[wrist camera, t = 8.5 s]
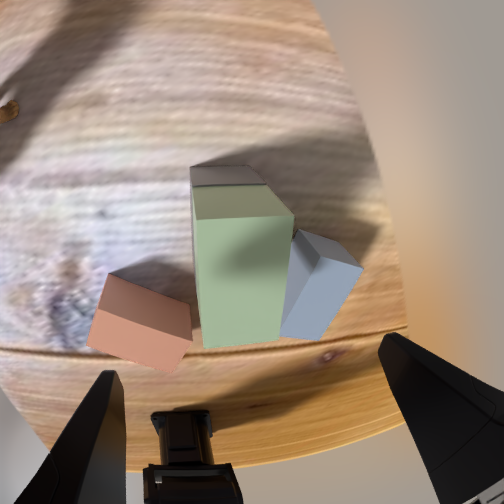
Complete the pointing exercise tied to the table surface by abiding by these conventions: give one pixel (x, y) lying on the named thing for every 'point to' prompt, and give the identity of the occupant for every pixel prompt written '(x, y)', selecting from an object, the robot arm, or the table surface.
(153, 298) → the terracotta brick
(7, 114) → the lion figurine
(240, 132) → the table surface
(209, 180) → the charcoal brick
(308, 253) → the slate blue brick
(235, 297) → the green brick
